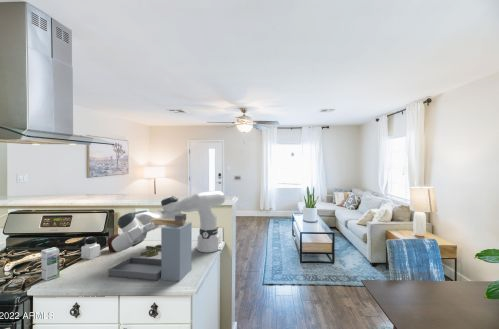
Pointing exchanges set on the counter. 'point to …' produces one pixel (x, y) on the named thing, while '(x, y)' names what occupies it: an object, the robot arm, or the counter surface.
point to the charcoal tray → (137, 269)
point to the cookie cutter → (151, 253)
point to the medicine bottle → (90, 248)
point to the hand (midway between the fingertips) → (158, 221)
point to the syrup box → (50, 263)
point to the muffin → (111, 242)
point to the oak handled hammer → (171, 220)
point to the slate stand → (176, 251)
